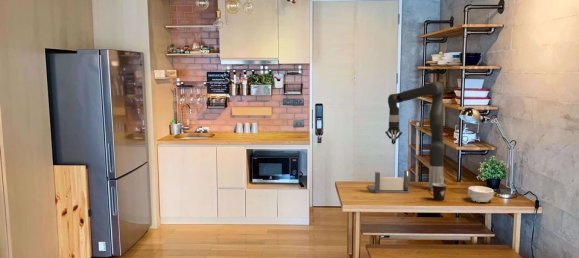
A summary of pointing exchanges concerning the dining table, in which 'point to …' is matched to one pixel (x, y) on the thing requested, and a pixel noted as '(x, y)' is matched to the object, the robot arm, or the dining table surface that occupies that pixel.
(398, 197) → the dining table surface
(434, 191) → the coffee mug
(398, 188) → the gate
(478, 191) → the paper bowls
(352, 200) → the dining table surface
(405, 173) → the gate posts
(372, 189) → the mat
